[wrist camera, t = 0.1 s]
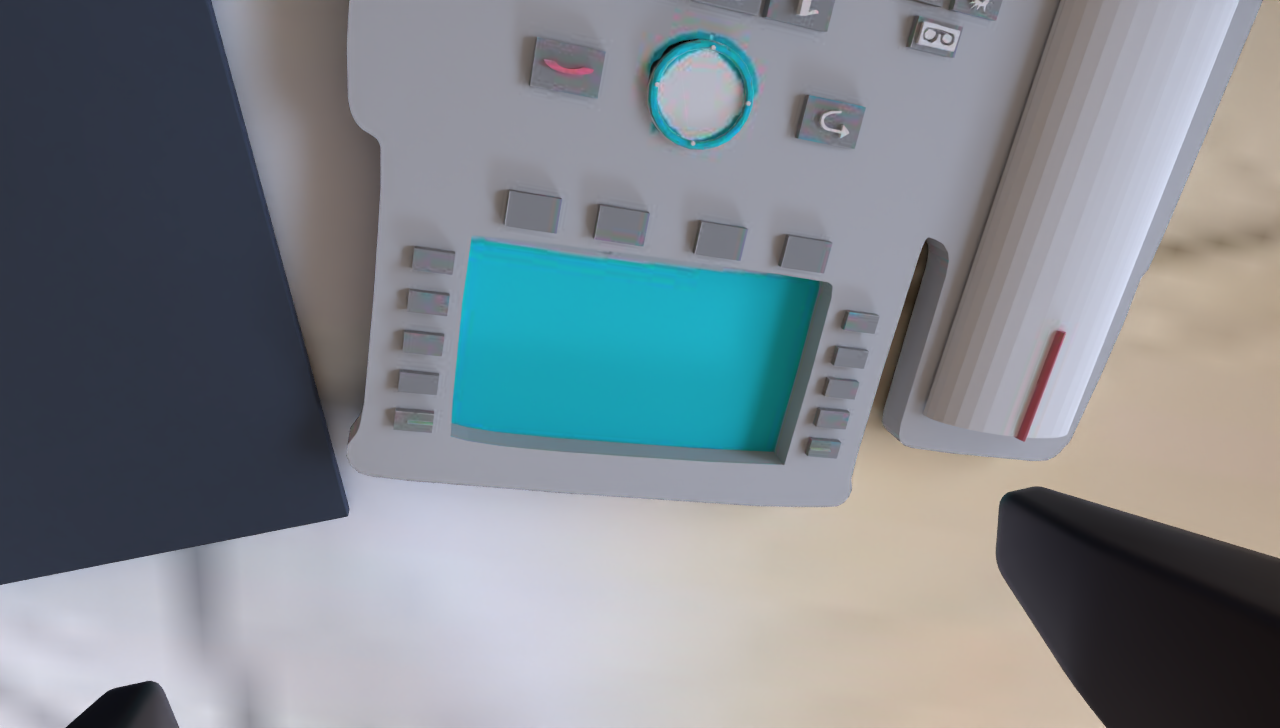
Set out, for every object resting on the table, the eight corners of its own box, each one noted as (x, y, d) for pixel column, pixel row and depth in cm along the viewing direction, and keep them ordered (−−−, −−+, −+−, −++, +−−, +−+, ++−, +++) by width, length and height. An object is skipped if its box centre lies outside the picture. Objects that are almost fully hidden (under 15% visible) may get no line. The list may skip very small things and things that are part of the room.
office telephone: (1384, -166, 21) (1083, 547, 27) (1285, -147, 23) (1030, 505, 30) (378, -557, 14) (296, 504, 21) (384, -475, 17) (309, 454, 23)
